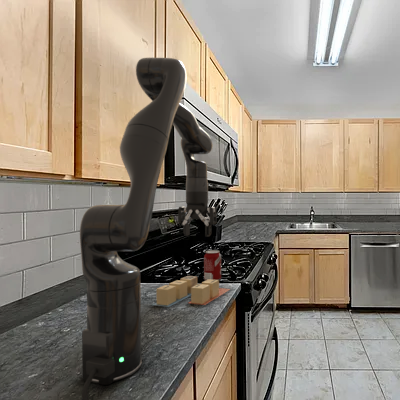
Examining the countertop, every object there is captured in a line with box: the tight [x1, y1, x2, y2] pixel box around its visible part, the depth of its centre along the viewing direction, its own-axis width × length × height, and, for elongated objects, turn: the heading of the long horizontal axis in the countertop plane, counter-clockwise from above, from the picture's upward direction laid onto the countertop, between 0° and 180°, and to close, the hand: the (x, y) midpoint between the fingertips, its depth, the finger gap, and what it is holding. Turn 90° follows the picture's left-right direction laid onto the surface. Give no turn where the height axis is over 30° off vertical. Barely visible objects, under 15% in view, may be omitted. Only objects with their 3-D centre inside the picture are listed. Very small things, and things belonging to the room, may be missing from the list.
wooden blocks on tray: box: [188, 279, 231, 306], centre depth 107 cm, size 17×6×5 cm, turn 165°
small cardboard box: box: [180, 275, 198, 294], centre depth 111 cm, size 4×4×5 cm
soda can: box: [203, 249, 222, 281], centre depth 127 cm, size 7×7×12 cm
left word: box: [151, 279, 191, 308], centre depth 105 cm, size 18×6×5 cm, turn 165°
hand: (197, 235), depth 110 cm, fingers open, 8 cm apart
